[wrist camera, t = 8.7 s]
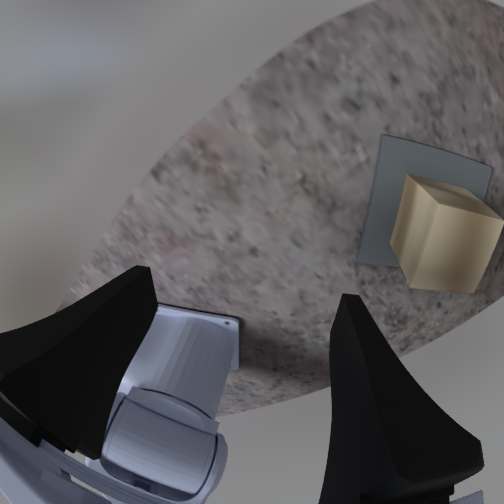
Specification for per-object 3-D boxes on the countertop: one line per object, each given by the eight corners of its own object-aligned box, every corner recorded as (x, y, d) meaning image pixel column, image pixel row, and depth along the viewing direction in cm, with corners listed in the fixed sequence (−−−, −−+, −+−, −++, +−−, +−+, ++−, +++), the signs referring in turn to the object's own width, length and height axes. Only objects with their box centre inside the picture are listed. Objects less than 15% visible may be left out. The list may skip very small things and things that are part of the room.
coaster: (356, 257, 20) (357, 262, 19) (381, 133, 15) (383, 135, 14) (453, 270, 18) (456, 274, 18) (488, 165, 14) (492, 167, 13)
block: (389, 242, 18) (409, 287, 14) (406, 173, 15) (438, 204, 11) (446, 251, 17) (473, 293, 13) (466, 189, 14) (504, 221, 10)
